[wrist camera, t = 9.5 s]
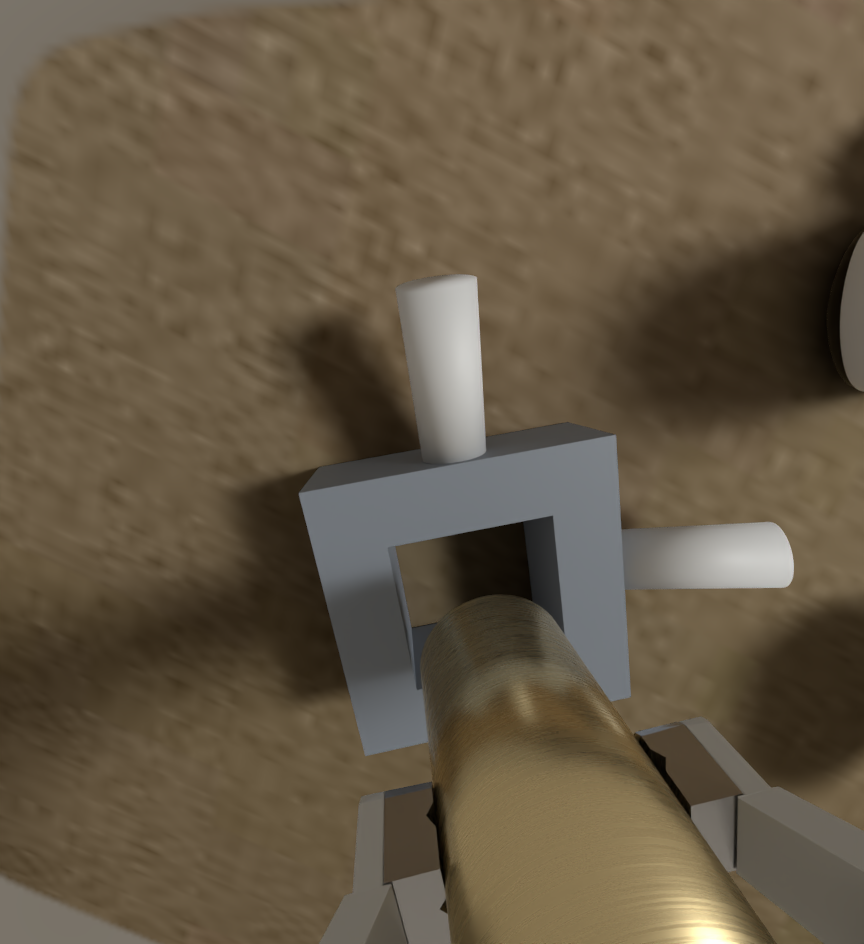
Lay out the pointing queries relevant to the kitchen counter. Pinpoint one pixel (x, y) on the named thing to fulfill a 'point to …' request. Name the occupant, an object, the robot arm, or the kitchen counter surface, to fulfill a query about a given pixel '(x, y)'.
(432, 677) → the cylinder
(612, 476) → the coupling block
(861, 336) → the spread jar
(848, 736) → the kitchen counter surface
